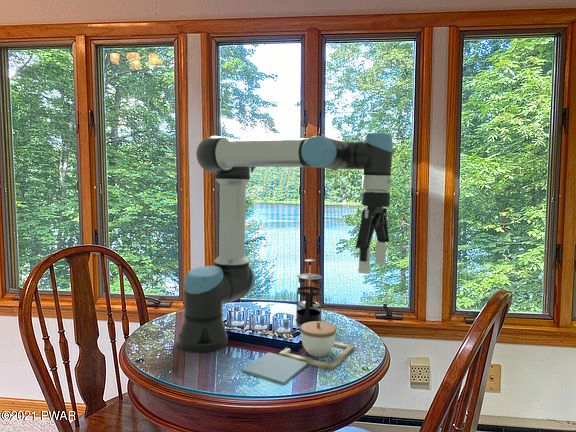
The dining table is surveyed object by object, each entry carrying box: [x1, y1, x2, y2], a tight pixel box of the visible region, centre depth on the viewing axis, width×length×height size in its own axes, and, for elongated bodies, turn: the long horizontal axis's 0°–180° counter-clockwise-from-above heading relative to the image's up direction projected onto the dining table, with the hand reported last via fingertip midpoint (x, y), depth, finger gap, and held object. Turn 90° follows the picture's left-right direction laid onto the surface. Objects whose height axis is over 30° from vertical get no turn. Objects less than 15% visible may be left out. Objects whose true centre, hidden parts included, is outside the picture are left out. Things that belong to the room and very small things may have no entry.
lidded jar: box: [300, 321, 337, 357], centre depth 123 cm, size 11×11×9 cm
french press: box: [295, 258, 323, 325], centre depth 150 cm, size 12×9×23 cm
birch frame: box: [278, 341, 355, 371], centre depth 123 cm, size 17×17×1 cm
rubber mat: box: [241, 351, 308, 385], centre depth 112 cm, size 13×13×1 cm
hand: (372, 268), depth 112 cm, fingers open, 13 cm apart
